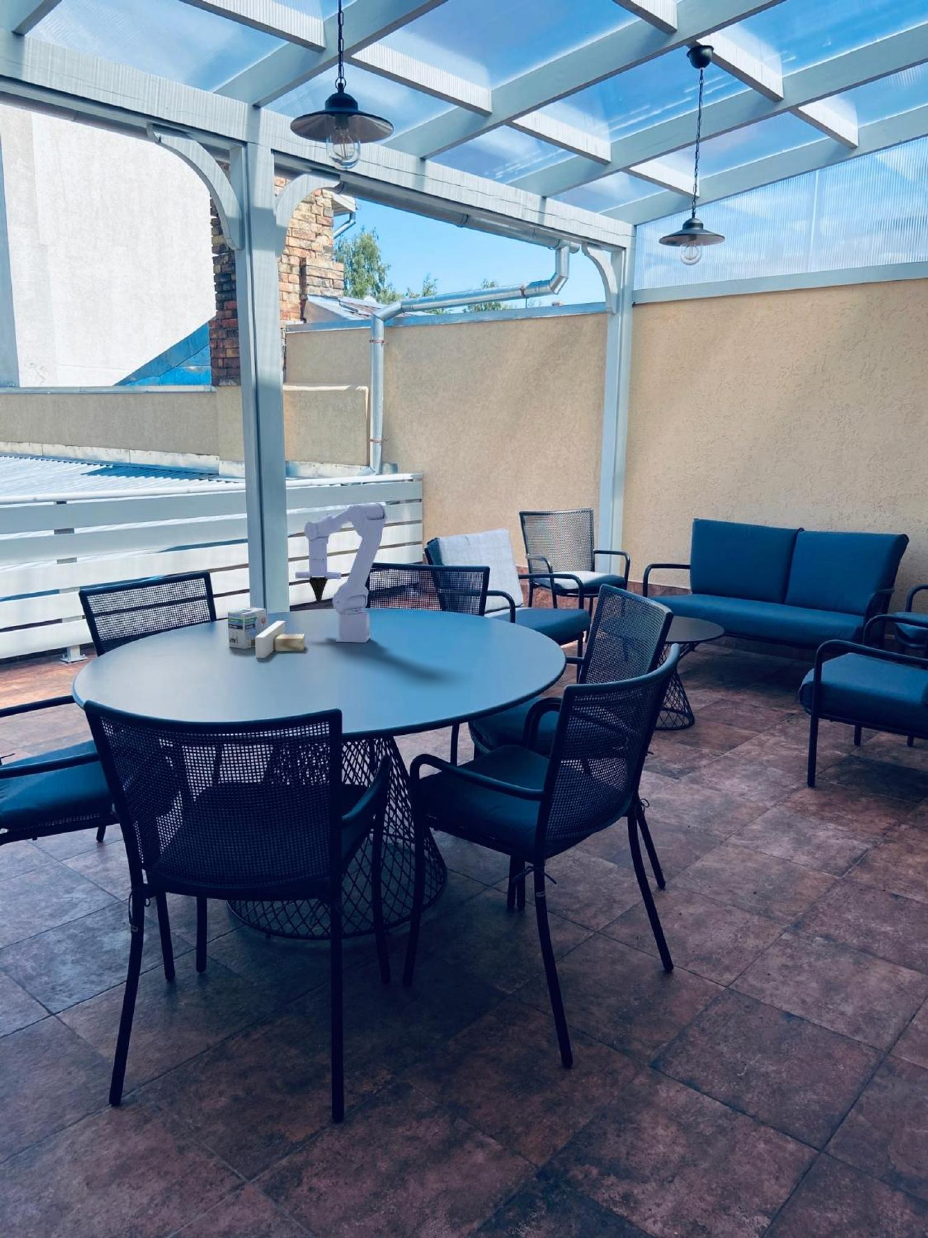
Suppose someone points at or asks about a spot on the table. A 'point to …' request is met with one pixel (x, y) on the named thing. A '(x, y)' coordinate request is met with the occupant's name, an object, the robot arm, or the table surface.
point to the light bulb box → (245, 626)
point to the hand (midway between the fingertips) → (318, 600)
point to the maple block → (290, 642)
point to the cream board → (268, 639)
